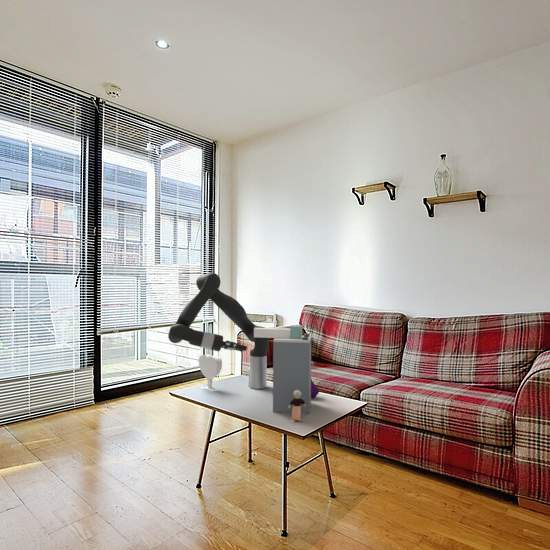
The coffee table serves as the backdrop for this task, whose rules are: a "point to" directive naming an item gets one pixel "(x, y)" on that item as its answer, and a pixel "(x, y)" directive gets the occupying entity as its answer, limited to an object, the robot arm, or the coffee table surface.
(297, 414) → the grandmother figurine
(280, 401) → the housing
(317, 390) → the perfume bottle
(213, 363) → the heart sculpture
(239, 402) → the coffee table surface
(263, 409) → the coffee table surface
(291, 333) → the cartridge
